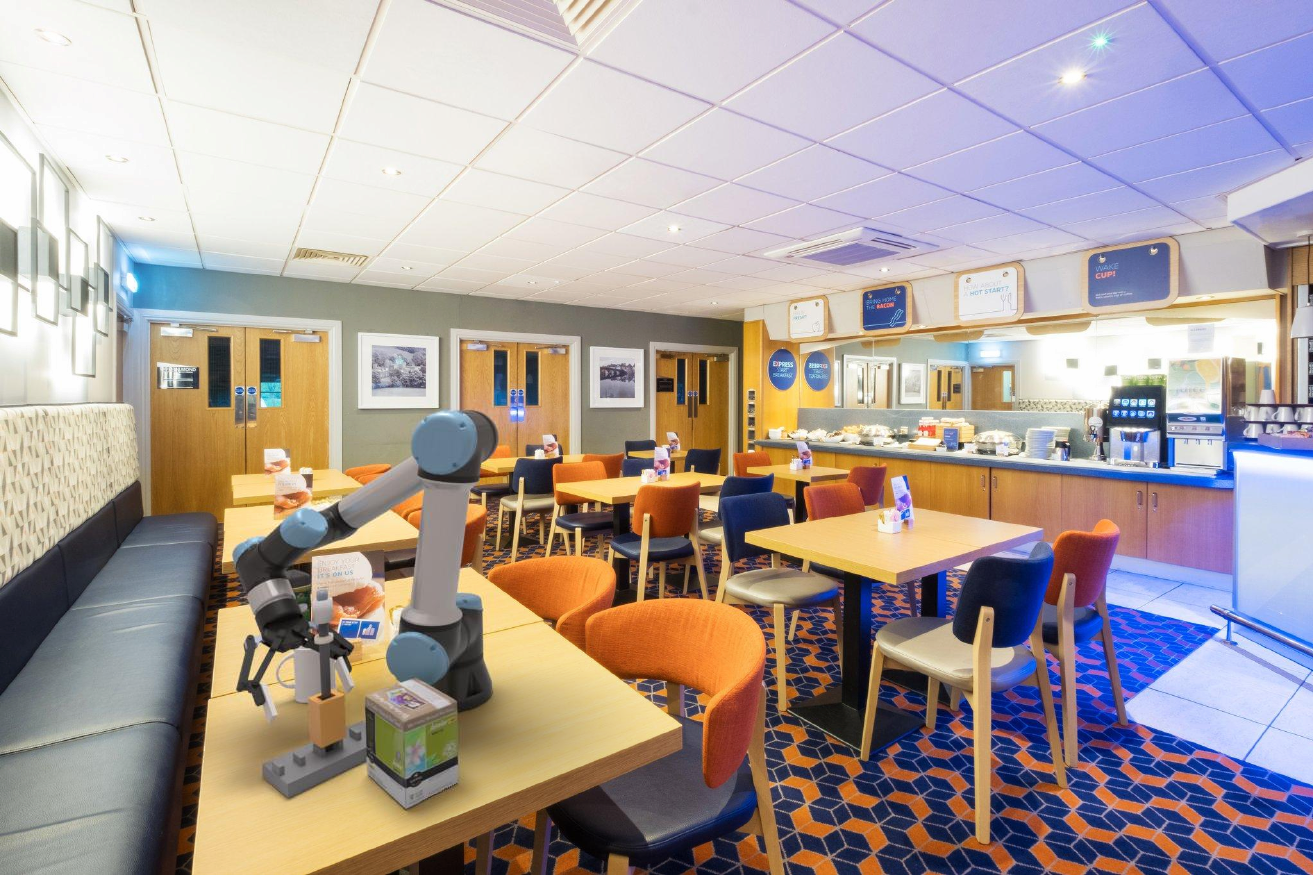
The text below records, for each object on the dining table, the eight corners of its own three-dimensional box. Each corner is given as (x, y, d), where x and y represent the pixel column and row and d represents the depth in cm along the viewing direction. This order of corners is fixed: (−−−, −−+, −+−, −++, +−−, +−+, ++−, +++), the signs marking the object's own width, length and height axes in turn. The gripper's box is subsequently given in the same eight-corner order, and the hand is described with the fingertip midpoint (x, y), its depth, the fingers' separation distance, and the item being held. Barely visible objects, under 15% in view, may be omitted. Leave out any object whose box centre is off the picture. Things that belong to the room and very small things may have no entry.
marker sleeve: (334, 729, 115) (332, 688, 114) (346, 737, 112) (344, 694, 112) (309, 740, 111) (307, 697, 111) (321, 748, 109) (319, 704, 108)
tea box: (461, 782, 106) (459, 699, 105) (404, 812, 98) (401, 722, 98) (419, 750, 116) (416, 674, 115) (365, 774, 108) (362, 693, 108)
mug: (278, 711, 131) (275, 656, 130) (276, 695, 138) (273, 644, 137) (339, 696, 138) (337, 644, 137) (334, 682, 145) (332, 632, 144)
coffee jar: (274, 635, 175) (271, 571, 173) (304, 627, 181) (301, 565, 180) (286, 644, 168) (283, 577, 167) (317, 635, 174) (314, 571, 173)
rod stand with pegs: (362, 732, 122) (357, 575, 120) (390, 749, 116) (384, 583, 115) (262, 777, 108) (254, 599, 106) (288, 798, 102) (279, 610, 100)
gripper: (333, 601, 133) (372, 688, 125) (196, 637, 113) (230, 743, 105) (345, 581, 129) (385, 669, 121) (204, 615, 109) (241, 722, 101)
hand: (313, 703), depth 113 cm, fingers open, 13 cm apart
